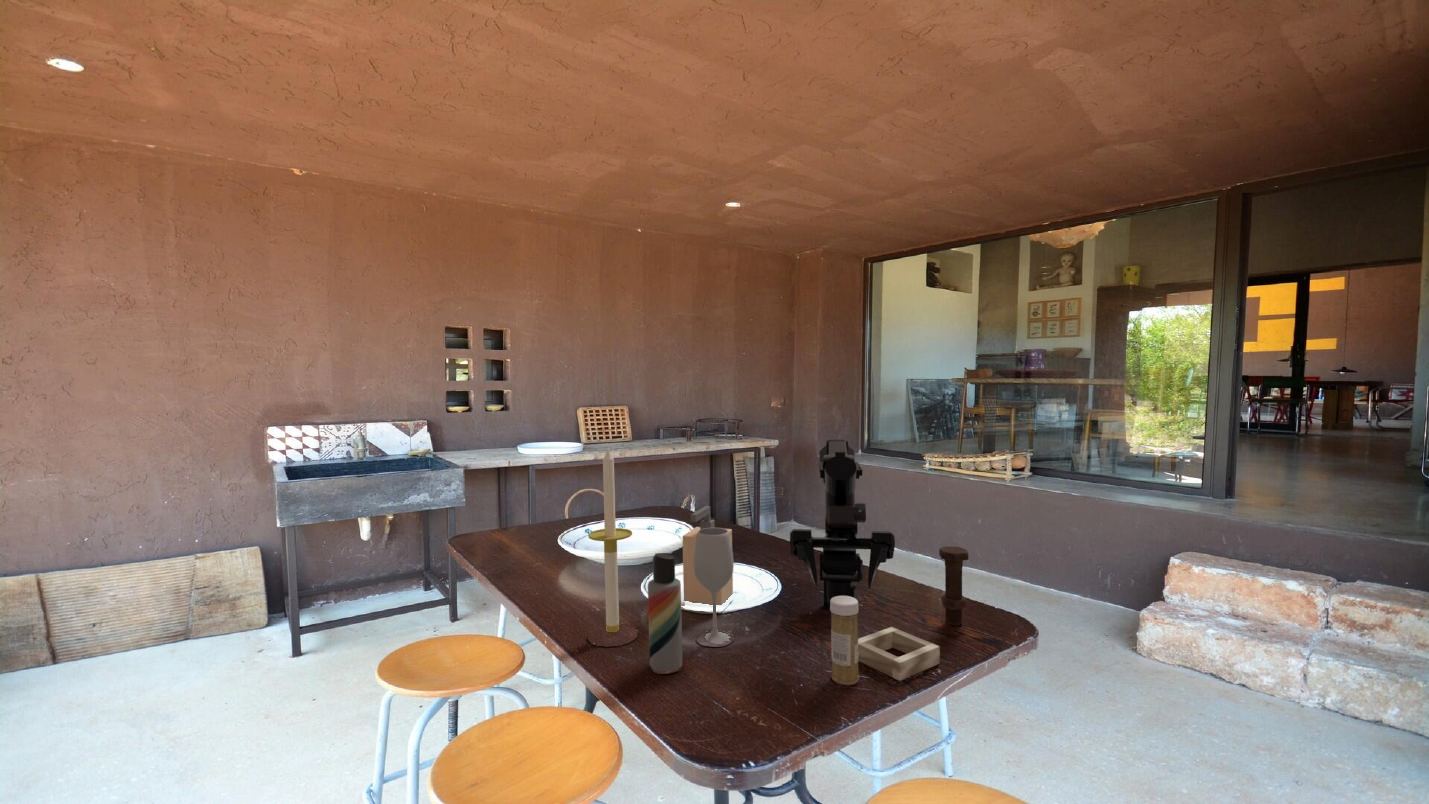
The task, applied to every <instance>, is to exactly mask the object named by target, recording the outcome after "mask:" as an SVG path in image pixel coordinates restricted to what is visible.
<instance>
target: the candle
mask: <svg viewBox="0 0 1429 804" xmlns="http://www.w3.org/2000/svg"><path fill="white" fill-rule="evenodd" d="M602 479H603V481H602V482H603V483H602V484H603V509H604V510H603V511H604V512H603V514H604V515H603V517H604V518H603V519H604V521H603V522H604V528H601V529H596V530H593V531H590V532H589V533H588V535H587V536H588V539H590V540H592V541H595V542H596V541H597V542H603V552H604V553H603V554H604V556H603V557H604V560H603V561H604V595H605V596H604V597H605V626H606V631H607V632H617V631H618V630H619V625H620V613H619V612H620V611H619V607H620V606H619V605H620V604H619V578H618V577H619V575H618V574H619V572H618V568H619V567H618V564H619V563H618V541H621V540H625V539H628V538H630V537H631V536H632V535H633V532H632V530H631V529H628V528H627V529H626V528H622V527H619V528H618V527H616V497H615V492H616V491H615V490H616V489H615V460H614V457H613V456H612V454H611V451H610V448H606V452H605V455H604V457H603V458H602Z"/></svg>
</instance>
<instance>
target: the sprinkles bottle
mask: <svg viewBox="0 0 1429 804" xmlns="http://www.w3.org/2000/svg"><path fill="white" fill-rule="evenodd" d="M858 602H859V600H858V601H857V599H855V598H853V597H850V596H836V597H833V598H831V600H830V610H829V611H830V614H831V616H830V618H831V619H830V623H831V624H830V626H831V629H830V638H831V639H830V644H831V647H830V649H831V652H830V653H831V655H830V656H831V670H832V671H831V679H832V680H833V682H835V683H836V684H838V685H844V686H851V685H855V684H857V683H859V681H860V675H859V661H858V639H859V635H858V615H859V605H858Z"/></svg>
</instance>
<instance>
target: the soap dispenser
mask: <svg viewBox="0 0 1429 804" xmlns="http://www.w3.org/2000/svg"><path fill="white" fill-rule="evenodd" d="M702 519H703V520H702ZM698 521H700V522H699V526H696V527H694V528H692V529H691V530H690V531H688V532H686V533H685V534H683V535H682V575H683V579H682V581H683V602H684V601H689V602H692V603H702V604H709V605H713V602H712V594H711V592H710V591H709V590H708V589H706V588H705V587H704V586H703V585H702V584H701V583H700V582H699V581H698V579H697V577H696V575H695V572H694V552H695V544H696V537H697V532H698V531H699V530H701V529H704V528H716V526H715V525H716V524H715V521H716V520H715V519H711V506H710V505H705V506H703V507H701V508H700V509H697V510H696V511H695V512H693V513H691V514H690V522H691V523H692V522H693V523H697V522H698ZM726 529H727V530H728V531H729V535H730V540H731V545H732V546H733V534H732V533H733V529H731V528H726ZM733 577H734V575H733V574H732V576H731V579H730V580H729V581H728V583H727V584H726V585H725V586H724V587H723V588H722V589H720V590H719V591H718V593H717V596H716V605H722V604H723V603H725V602H726V600H728V598H729V597H730V596H731V595H732V594H733V595H734V579H733Z"/></svg>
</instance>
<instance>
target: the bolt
mask: <svg viewBox="0 0 1429 804" xmlns="http://www.w3.org/2000/svg"><path fill="white" fill-rule="evenodd" d="M938 551H939V552H938V555H939V556H940V559H941V560H944V567H945V568H944V569H945V570H944V575H945V578H944V579H945V580H944V581H945V582H944V583H945V584H944V585H945V590H944V591H945V593H943V594H941V604H942V606H943V607H944V610H945V623H946V624H947V623H948V625H949V626H960V624H961V625H962V624H963V610H964V609H965V608H967V599H966V597H965V596H964V595H963V565H964V561H968V560H969V551H968V549H966V548H964V547H960V546H952V545H951V546H947V545H946V546H942V547H940V548H939V550H938Z"/></svg>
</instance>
